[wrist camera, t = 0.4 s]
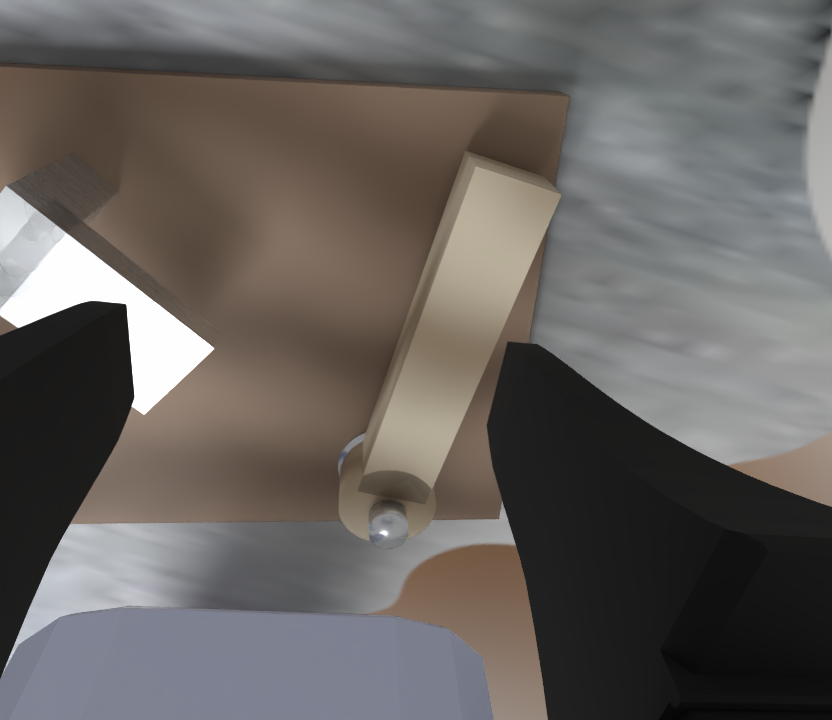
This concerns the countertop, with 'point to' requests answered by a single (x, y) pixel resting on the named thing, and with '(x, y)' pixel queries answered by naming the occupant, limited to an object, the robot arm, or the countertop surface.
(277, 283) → the wooden cutting board
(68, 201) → the keeper
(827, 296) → the countertop surface
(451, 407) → the link
